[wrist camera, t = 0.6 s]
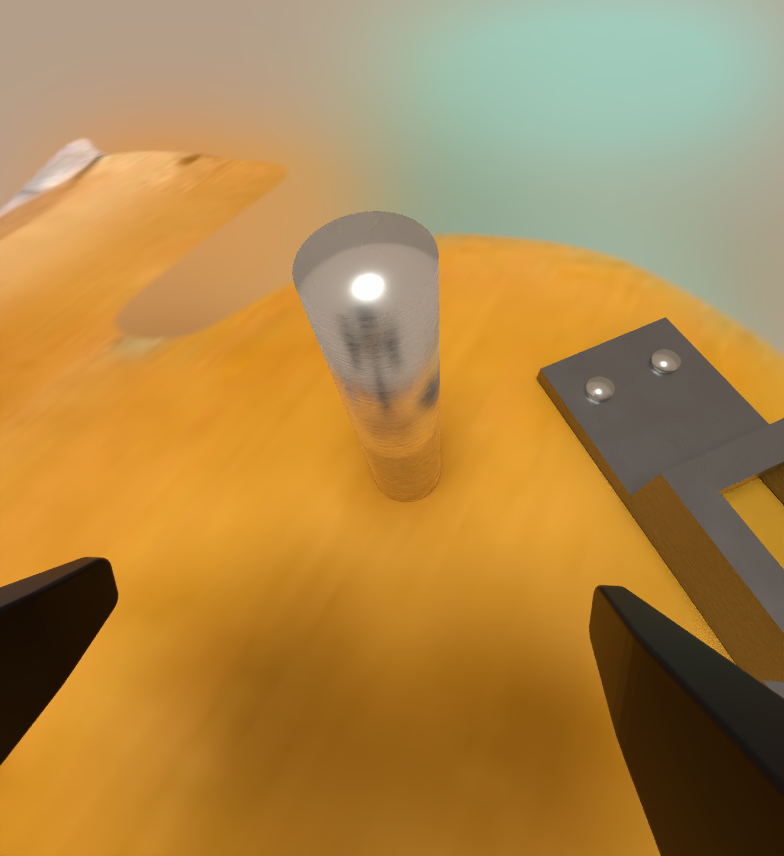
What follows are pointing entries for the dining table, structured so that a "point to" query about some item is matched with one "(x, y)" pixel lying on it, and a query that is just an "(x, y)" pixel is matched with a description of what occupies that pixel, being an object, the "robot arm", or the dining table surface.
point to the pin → (380, 339)
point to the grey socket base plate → (685, 476)
